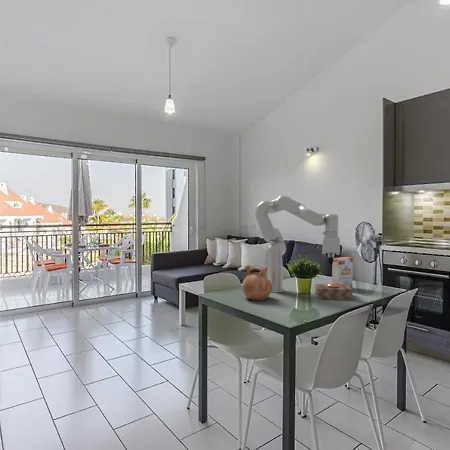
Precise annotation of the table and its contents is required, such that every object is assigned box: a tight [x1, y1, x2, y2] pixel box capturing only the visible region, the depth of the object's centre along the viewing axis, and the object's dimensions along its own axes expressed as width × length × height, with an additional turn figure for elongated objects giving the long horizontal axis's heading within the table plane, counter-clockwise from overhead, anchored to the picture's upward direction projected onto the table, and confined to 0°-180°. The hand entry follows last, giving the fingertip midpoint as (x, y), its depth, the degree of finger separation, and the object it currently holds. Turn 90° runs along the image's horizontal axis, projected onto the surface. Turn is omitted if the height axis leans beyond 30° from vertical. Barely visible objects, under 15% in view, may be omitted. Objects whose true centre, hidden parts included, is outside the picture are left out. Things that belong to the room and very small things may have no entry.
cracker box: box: [331, 256, 354, 289], centre depth 239 cm, size 14×6×21 cm, turn 120°
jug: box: [241, 264, 272, 301], centre depth 213 cm, size 18×18×20 cm
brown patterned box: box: [314, 283, 353, 301], centre depth 217 cm, size 20×14×6 cm
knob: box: [326, 283, 339, 288], centre depth 217 cm, size 7×7×7 cm
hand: (330, 263), depth 218 cm, fingers closed
